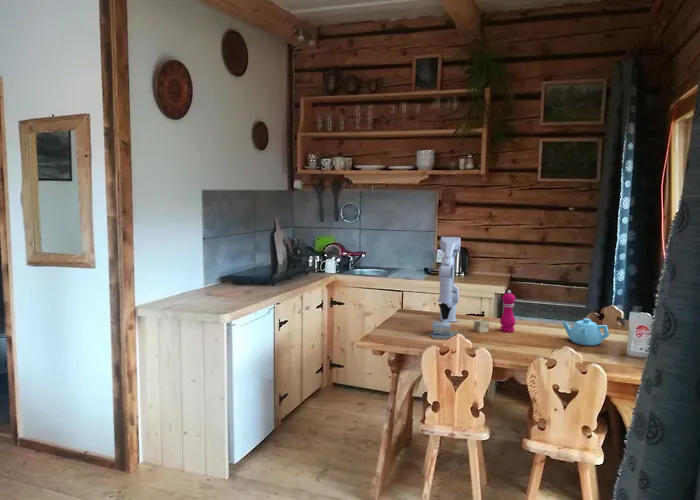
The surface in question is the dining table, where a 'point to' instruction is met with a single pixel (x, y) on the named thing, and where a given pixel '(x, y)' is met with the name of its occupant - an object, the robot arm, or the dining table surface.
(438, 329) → the medicine box
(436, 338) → the mat
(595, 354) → the dining table surface
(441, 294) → the robot arm
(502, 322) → the pepper mill
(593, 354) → the dining table surface
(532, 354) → the dining table surface
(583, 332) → the teapot
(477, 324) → the beech block
